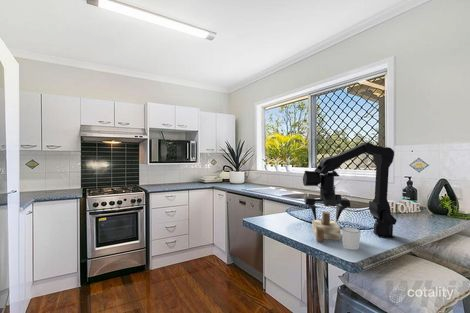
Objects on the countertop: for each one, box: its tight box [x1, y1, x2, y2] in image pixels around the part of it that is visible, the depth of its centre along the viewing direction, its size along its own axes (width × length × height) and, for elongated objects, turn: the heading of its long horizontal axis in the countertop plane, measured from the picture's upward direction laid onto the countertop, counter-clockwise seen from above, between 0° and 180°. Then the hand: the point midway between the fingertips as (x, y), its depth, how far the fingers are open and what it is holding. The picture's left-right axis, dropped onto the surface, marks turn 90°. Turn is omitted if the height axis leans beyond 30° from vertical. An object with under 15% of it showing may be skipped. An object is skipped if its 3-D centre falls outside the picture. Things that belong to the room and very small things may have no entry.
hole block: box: [311, 219, 342, 240], centre depth 109 cm, size 10×10×5 cm
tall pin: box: [321, 211, 331, 225], centre depth 109 cm, size 3×3×10 cm
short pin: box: [315, 228, 325, 243], centre depth 102 cm, size 3×3×5 cm
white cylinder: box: [341, 226, 362, 251], centre depth 96 cm, size 7×7×7 cm
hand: (326, 220), depth 109 cm, fingers open, 9 cm apart
